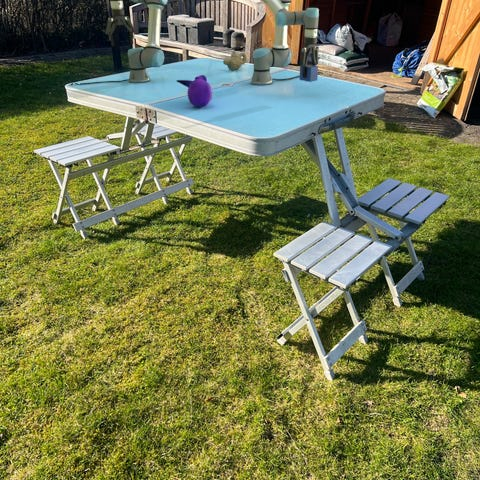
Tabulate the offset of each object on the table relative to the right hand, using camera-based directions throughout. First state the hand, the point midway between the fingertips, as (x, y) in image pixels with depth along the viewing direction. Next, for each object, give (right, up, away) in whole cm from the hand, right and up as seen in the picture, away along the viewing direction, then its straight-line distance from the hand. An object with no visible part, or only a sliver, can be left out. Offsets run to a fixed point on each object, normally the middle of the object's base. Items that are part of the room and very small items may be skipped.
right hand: (308, 76), depth 282 cm
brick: (0, -2, +1) cm, 2 cm away
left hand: (-120, +24, +10) cm, 123 cm away
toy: (-69, -20, -9) cm, 73 cm away
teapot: (-47, +38, +89) cm, 108 cm away
